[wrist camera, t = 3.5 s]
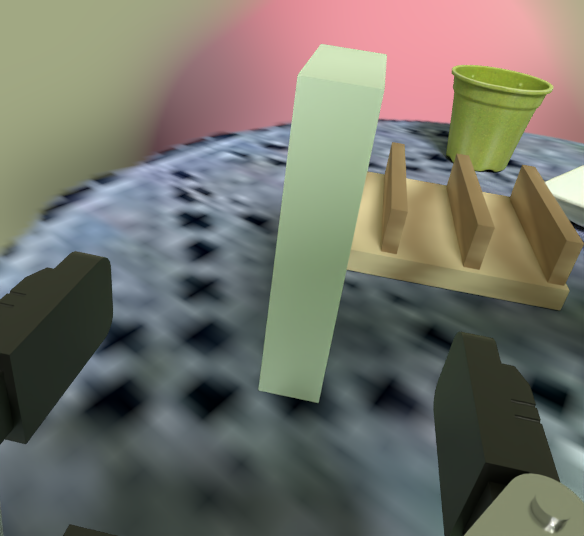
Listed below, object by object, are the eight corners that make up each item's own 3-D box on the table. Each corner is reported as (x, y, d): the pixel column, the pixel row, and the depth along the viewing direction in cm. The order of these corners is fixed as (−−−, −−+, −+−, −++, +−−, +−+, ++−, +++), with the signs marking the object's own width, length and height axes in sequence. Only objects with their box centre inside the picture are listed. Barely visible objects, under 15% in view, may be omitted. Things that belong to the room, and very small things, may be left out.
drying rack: (516, 215, 45) (536, 165, 43) (560, 310, 33) (590, 248, 31) (318, 179, 47) (326, 129, 44) (293, 259, 35) (302, 195, 32)
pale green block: (332, 319, 30) (386, 54, 22) (318, 403, 24) (384, 89, 17) (283, 309, 30) (321, 44, 23) (258, 390, 25) (297, 75, 17)
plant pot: (508, 188, 50) (542, 95, 46) (416, 159, 54) (439, 70, 50) (530, 164, 57) (561, 81, 53) (446, 140, 61) (469, 60, 57)
